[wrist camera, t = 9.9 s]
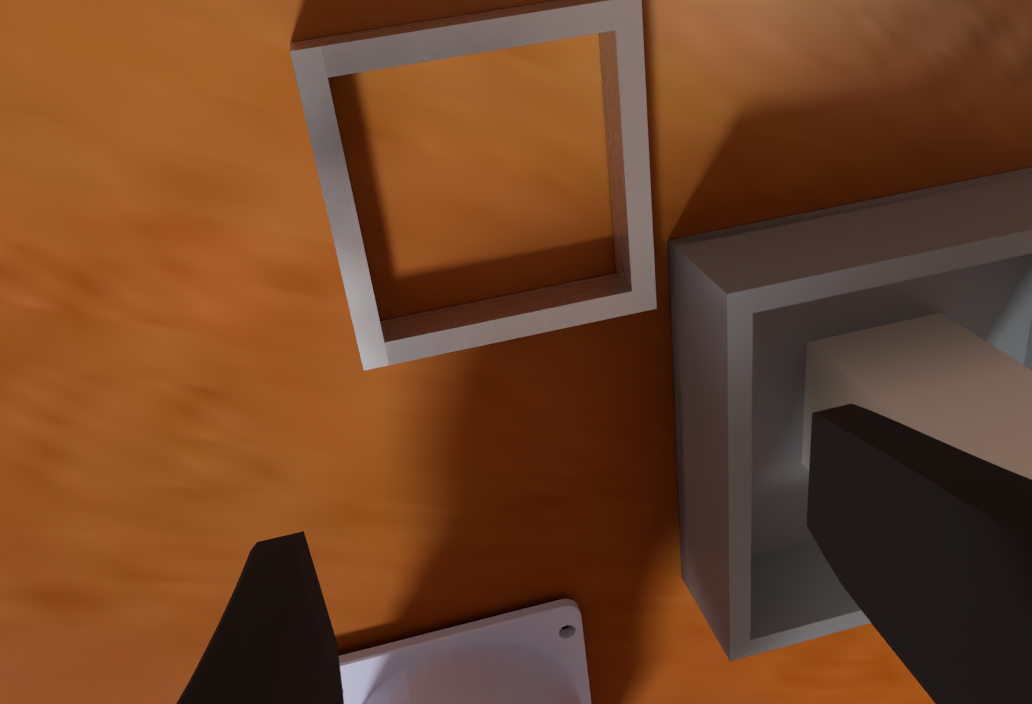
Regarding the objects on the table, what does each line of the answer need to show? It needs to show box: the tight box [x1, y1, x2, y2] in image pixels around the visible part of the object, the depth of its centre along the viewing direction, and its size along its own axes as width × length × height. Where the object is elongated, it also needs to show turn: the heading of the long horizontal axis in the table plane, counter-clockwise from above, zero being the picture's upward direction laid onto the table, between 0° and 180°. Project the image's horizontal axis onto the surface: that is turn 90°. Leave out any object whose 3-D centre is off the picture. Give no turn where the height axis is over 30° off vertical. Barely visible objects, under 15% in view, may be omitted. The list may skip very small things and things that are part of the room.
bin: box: [668, 167, 1032, 661], centre depth 24 cm, size 11×11×4 cm
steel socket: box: [290, 0, 657, 370], centre depth 20 cm, size 7×7×1 cm
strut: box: [802, 313, 1032, 480], centre depth 22 cm, size 4×4×8 cm
